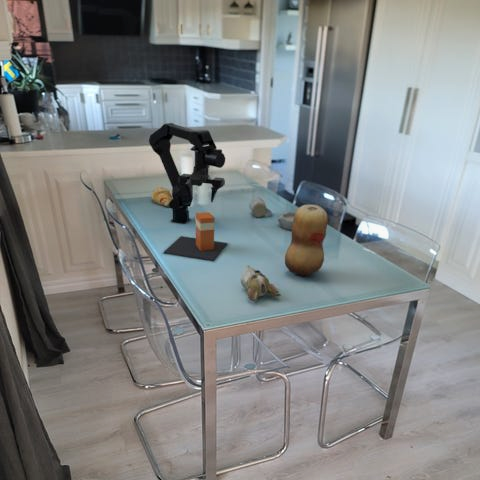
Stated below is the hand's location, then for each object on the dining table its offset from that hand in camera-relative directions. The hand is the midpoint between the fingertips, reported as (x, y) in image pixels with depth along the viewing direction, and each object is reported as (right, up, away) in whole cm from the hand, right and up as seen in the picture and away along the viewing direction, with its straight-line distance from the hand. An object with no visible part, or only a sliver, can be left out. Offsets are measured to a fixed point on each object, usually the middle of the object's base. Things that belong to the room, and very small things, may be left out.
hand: (201, 200), depth 201 cm
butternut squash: (+39, -34, -30) cm, 60 cm away
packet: (+2, -22, -14) cm, 26 cm away
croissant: (-23, +8, +35) cm, 43 cm away
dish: (+41, -8, +13) cm, 44 cm away
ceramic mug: (+26, -1, +24) cm, 36 cm away
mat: (-1, -22, -14) cm, 27 cm away
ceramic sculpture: (+22, -42, -45) cm, 65 cm away
